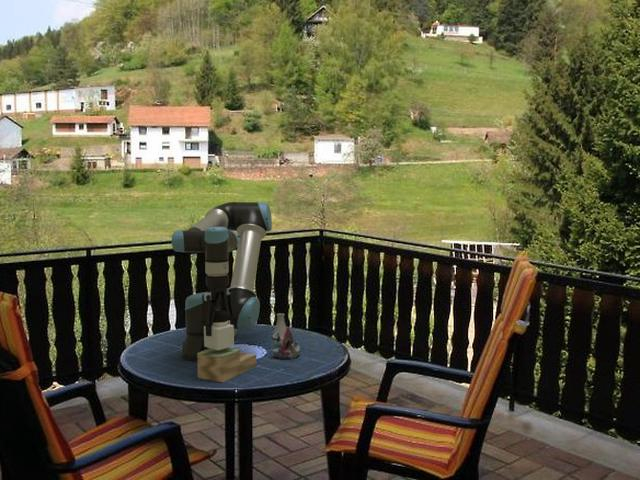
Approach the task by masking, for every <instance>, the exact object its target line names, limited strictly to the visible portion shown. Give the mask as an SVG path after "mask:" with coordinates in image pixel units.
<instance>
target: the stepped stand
mask: <svg viewBox="0 0 640 480" xmlns="http://www.w3.org/2000/svg"><path fill="white" fill-rule="evenodd" d="M240 349H241V348H240ZM240 349H239V348H232V347H228V348H225V349H221V350H215V349H211V348H209V349H206V350H204V351H201V352H199V353H197V361H196V362H197V378H198V379H201V378H202V380H208V381H214V382H217V383H224V382H227V381H228V380H230V379H232V378H235V377H237V376H238V375H241V374H243V373H245V372H247V371H249V370H251V369H253V368H255V367H257V354H253V353H247V352H241V350H240Z"/></svg>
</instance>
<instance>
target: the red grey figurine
mask: <svg viewBox="0 0 640 480" xmlns="http://www.w3.org/2000/svg"><path fill="white" fill-rule="evenodd" d="M273 333H274V335H273V334H272V335H273V338H274V339H273V338H272V339H273V341H274V342H273V347H274V348H272V349H270V352H271V353H273V354H274V355H275V356H276V357H277V358H278V359H280V360H281V359H283V360H284V359H290V360H294V359H296V358H297V357H299V355H300V353H301V347H300V343H299V341H298V340H295V341H294V337H293V334H292V332H291V330H290V328H289V326H286V330H285V333H284V337H280V336H279V333H278V332H277V333H275V332H274V331H273ZM288 337H289V338H288Z"/></svg>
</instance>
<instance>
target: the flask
mask: <svg viewBox="0 0 640 480" xmlns="http://www.w3.org/2000/svg"><path fill="white" fill-rule="evenodd" d="M285 315H286V314H285V313H282V312H281V313H280V312H279V313H277V314H276V316H277V317H276V323H275V324H276V325H275V328H274V330H273V333H272V335H271V339H273V340H275V339H274V338H273V335H274V332H275V333H277V332H278V333H279V336H280V337H284V333H285V330H286V327H287V325H286V321H285ZM288 339H290V338H289V337H288Z"/></svg>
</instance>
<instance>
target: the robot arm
mask: <svg viewBox="0 0 640 480" xmlns="http://www.w3.org/2000/svg"><path fill="white" fill-rule="evenodd" d="M271 211H272V210H271V208H270V205H269V203H267V202H263V201H262V202H261V201H257V202H256V201H248V202H247V201H230V202H229V201H228V202H225V203H222V204H220V205H216V206H215V207H213V208H211V209H210V210H208V211H207V213H205V216H204V217H203V218H202V219H200V220H199V221H197V222H196V223H194V224H193V225H192V226H191V227H189V228H188V229H185V230H183V229H181V230H175V231H174V232H173V234H172V236H171V247H172V250H173V251H174V252H176V253H177V252H178V253H204V254H205V255H204V256H205V262H204V263H205V270H204V272H205V274H206V276H205V286H206V287H207V288H208V291H206V292H204V291H203V292H198V293H194V294H191V295H189V296H187V297H186V299H185V306H184V307H185V308H184V312H185V313H184V314H185V337H184V340H183V341H184V342H183V343H182V344H183V345H182V348H181V358H182V359H183V360H188V361H196V362H197V353H199V352H201V351H204V350H206V349H209V348H208V347H205V346H204V326H205V327H206V345H209V346H215V339H214V326H212V325H213V320H214V316H215V312H216V310H225V311H227V312H228V323H227V324H230V325H234V329H237V330H241V331H242V330H250V329H252V328H254V327H255V326H256V324H257V322H258V320H259V314H260V311H261V310H260V308H261V302H260V300H259V298H258V297H257V294H256V292H255V291H254V287H255V280H256V277H257V276H256V274H257V269H258V264H259V263H258V262H259V256H260V249H261V244H262V243H261V242H262V240H263V239H264V238H266V235H267V232H271V231H272V228H273V219H272V213H271ZM236 249H237V250H236ZM235 250H236V255H235V259H234V265H233V266H234V267H233V271H232V276H231V283H230V275H229V272H230V271H229V270H230V269H229V259H230V258H229V253H231V252H233V251H235ZM229 285H230V287H229ZM227 287H228V288H227Z"/></svg>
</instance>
